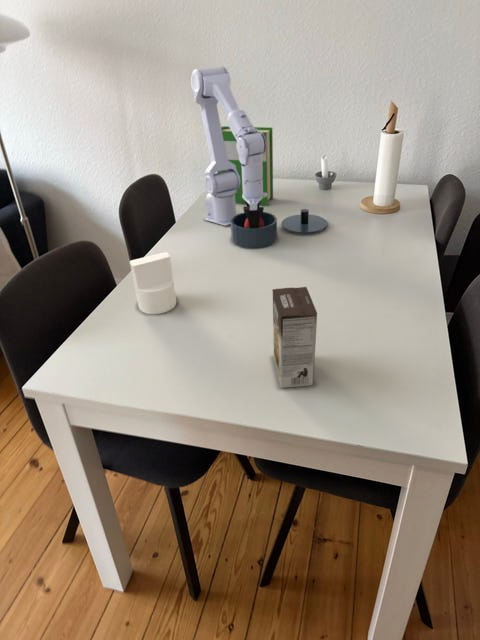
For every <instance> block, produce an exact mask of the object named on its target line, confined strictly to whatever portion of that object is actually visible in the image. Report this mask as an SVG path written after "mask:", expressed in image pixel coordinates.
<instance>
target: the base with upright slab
mask: <svg viewBox="0 0 480 640" xmlns="http://www.w3.org/2000/svg"><path fill="white" fill-rule="evenodd" d="M171 261H172V260H171V256H170V253H168V252H167V251H163V252H159V253H155V254H151V255H147V256H143V257H140V258H135V259H132V260H129V266H130V271H131V274H132V280H133V281H132V282H133V286H134V291H135V296H136V300H137V305H138V309H139V310H140V311H141V312H142V313H144V314H148V315H160V314H163V313H167V312H169V311H171V310H173V309H174V307H176V304H177V296H176V289H175V283H174V282H175V281H174V275H173V270H172V269H173V268H172V262H171Z"/></svg>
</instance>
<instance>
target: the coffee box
mask: <svg viewBox="0 0 480 640" xmlns="http://www.w3.org/2000/svg"><path fill="white" fill-rule="evenodd" d="M272 320H273V321H272V322H273V324H272V325H273V359H274V364H275V369H276V373H277V378H278V382H279V386H280V388H281V389H286V388H297V387H307V386H313V385H314V376H315V359H316V345H317V344H316V343H317V325H318V312H317V309H316V307H315V304H314V302H313V300H312V297H311V294H310V293H309V290H308V287H307V286H300V287H282V288H281V287H280V288H273V289H272Z"/></svg>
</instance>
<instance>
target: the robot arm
mask: <svg viewBox="0 0 480 640" xmlns="http://www.w3.org/2000/svg"><path fill="white" fill-rule="evenodd" d="M190 78H191V79H190V86H191V90H192V94H193V99H194V102H195V104H197V105H199V109H200V114H201V119H202V124H203V129H204V134H205V139H206V144H207V148H208V153H209V158H210V163H209V165H208V166H207V168H205V170H204V179H205V180H204V184H205V188H206V191H207V192H208V193H207V194H206V197H205V209H206V210H205V211H206V217H205V218H204V219H205V221H208V222H211V223H214V224H218V225H221V226H224V227H228V226H231V219H232V218H233V217H234V216H236V215H237V203H236V202H235V193H237V189H238V188H239V186H240V176H239V174H238V172H237V169H236V165H235V164H233V163H231V162H230V161H228V160H227V155H226V150H225V145H224V140H223V135H222V129H221V127H222V125H221V120H220V114H219V110H218V104H219V105H220V106H221V107H222V110H223V111H224V112H225V114H226V115H227V118H226V119H227V120H226V124H227V126H229V127H230V129H231V131H232V133H233V135H234V137H235V139H236V140H237V144H236V147H237V152H238V154H239V161H240V163H241V164H242V187H243V194H242V198H243V199H244V201H245V202H246V204H245V205H246V206H243V213H244V212H245V214H246V216H247V218H248V222H249V227H250V228H259V221H260V217H261V214H262V212H264V208H265V207H264V206H261V205H260V203H261V200H262V198H264V197H267V193H263V169H262V154H263V153H265V151H266V139H265V137H264V134H263V133H262V132H261V131H258V129H255V128H254V127H255V126H254V125H253V123H252V121H251V119H250V117H249V116H248V114H247V112H246V111H245V110H244V109H240V107H239V105H238V103H237V101H236V98H235V95H234V94H233V91H232V89H231V75H230V73H229V70H228V69H227V68H226V66H224V65H221V66H218V67H217V66H216V67H209V68H202V69H197V68H196V69H194V70H193V71H192V73H191V76H190ZM222 170H227V171H225V172H220V173H218V172H217V171H222Z"/></svg>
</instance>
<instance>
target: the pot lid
mask: <svg viewBox="0 0 480 640" xmlns="http://www.w3.org/2000/svg"><path fill="white" fill-rule="evenodd" d="M309 211H310V210H309V209H308V208H307V209H306V208H302V209H301V210H300V213H299V214H293V215H289V216H287V217H285V218H283V219H282V220H281V222H280V223H281V224H280V225H281V228H282V229H283V230H285V231H287V232H290V233H294V234H299V235H300V234H303V235H305V234H315V233H320V232H322V231H325V229H327V227H328V223H329V222H328V221H327V219H326V218H324V217H322V216H320V215H316V214H310V212H309Z"/></svg>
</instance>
